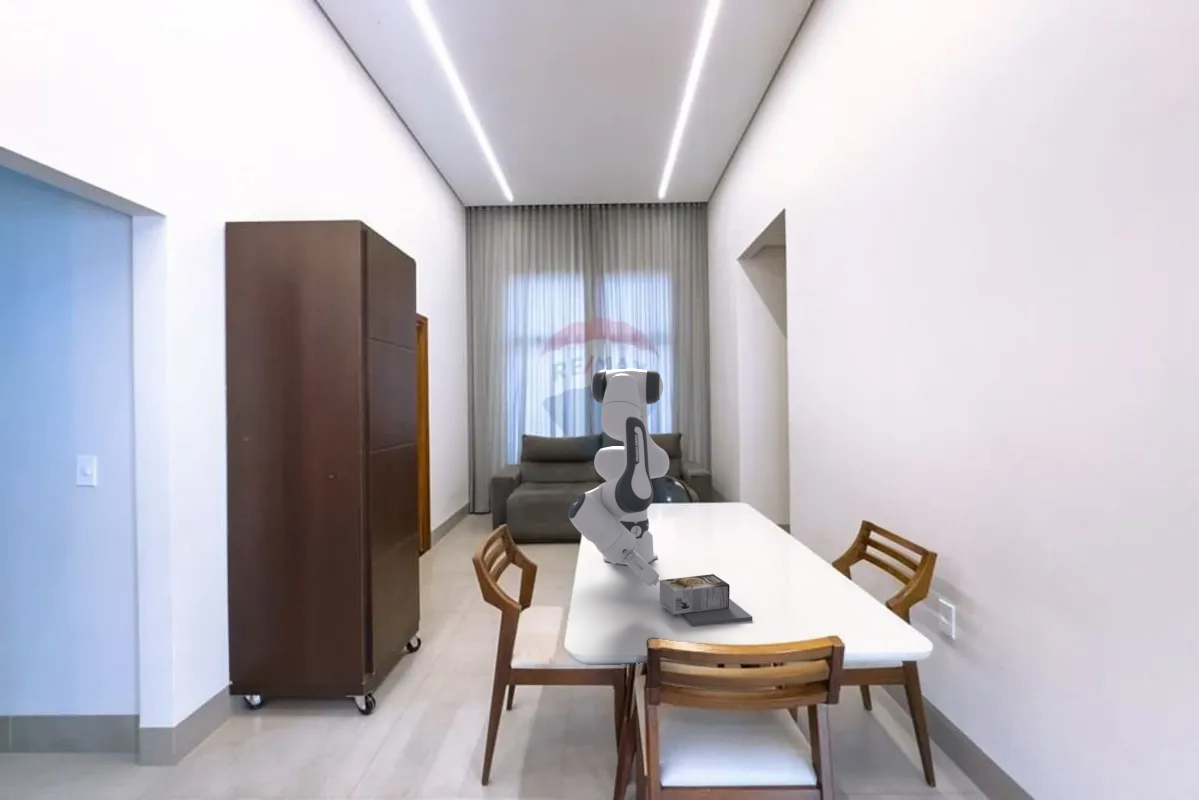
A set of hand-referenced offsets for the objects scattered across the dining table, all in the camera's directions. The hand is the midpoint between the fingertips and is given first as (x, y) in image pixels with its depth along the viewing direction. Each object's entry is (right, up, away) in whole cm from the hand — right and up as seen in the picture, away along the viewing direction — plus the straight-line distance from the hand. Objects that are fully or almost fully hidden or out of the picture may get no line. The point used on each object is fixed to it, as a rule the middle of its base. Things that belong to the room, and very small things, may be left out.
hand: (655, 581), depth 140 cm
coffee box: (+3, -4, +1) cm, 5 cm away
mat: (+14, -9, +3) cm, 17 cm away
